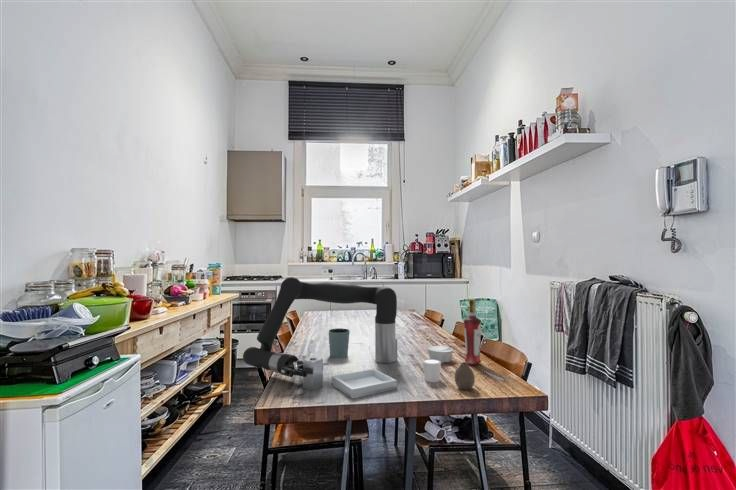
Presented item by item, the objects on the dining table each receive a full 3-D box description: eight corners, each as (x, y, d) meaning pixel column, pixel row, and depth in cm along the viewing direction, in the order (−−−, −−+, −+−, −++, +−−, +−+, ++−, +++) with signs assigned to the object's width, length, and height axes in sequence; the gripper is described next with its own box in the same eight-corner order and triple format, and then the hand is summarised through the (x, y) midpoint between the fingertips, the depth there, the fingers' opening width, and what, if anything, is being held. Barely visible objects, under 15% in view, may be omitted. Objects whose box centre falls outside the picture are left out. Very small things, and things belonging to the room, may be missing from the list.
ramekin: (453, 364, 161) (453, 352, 162) (427, 363, 164) (427, 351, 164) (452, 357, 172) (452, 346, 173) (428, 356, 175) (428, 345, 175)
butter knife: (498, 380, 139) (505, 379, 140) (460, 361, 165) (466, 361, 166) (498, 381, 139) (505, 380, 140) (460, 363, 165) (466, 362, 166)
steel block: (312, 383, 137) (312, 356, 137) (322, 386, 134) (322, 358, 135) (303, 387, 133) (303, 359, 133) (313, 390, 130) (313, 361, 130)
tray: (373, 376, 145) (373, 368, 145) (396, 388, 132) (396, 380, 132) (331, 384, 136) (331, 376, 136) (352, 398, 122) (352, 389, 123)
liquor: (467, 360, 167) (467, 298, 168) (484, 363, 163) (483, 299, 164) (461, 364, 161) (460, 299, 162) (478, 367, 157) (477, 300, 158)
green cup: (337, 351, 184) (337, 327, 184) (354, 354, 178) (353, 329, 178) (324, 356, 175) (324, 330, 176) (340, 359, 169) (340, 333, 170)
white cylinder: (430, 384, 136) (430, 364, 137) (419, 378, 142) (419, 360, 143) (445, 381, 140) (444, 362, 140) (433, 375, 146) (433, 357, 146)
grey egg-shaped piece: (471, 393, 127) (471, 367, 127) (452, 389, 131) (451, 364, 131) (477, 387, 133) (476, 362, 133) (458, 383, 137) (458, 359, 137)
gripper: (269, 358, 137) (300, 365, 128) (297, 350, 149) (327, 355, 139) (269, 378, 137) (300, 387, 127) (297, 368, 148) (327, 376, 139)
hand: (314, 370), depth 133 cm, fingers open, 8 cm apart
